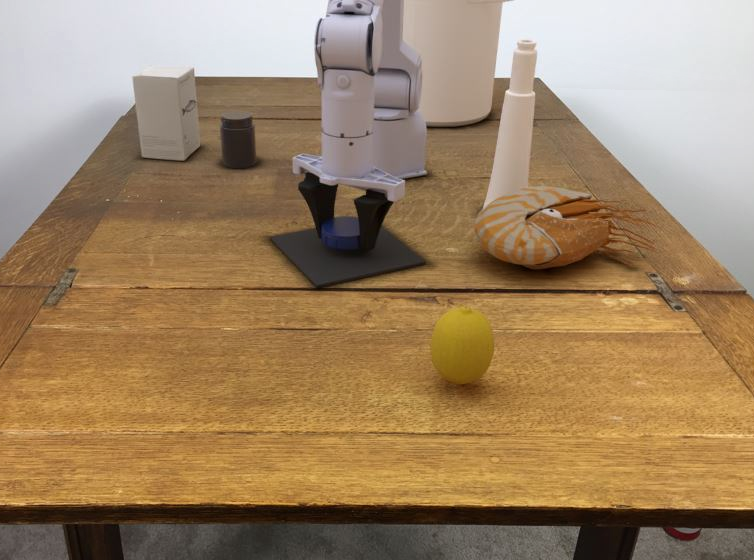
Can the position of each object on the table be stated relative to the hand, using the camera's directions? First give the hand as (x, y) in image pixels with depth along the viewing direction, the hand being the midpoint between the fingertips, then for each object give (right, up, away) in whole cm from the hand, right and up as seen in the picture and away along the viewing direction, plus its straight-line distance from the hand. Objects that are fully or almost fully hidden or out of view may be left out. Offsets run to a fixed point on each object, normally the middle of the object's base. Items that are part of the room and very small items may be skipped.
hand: (345, 242), depth 94 cm
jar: (-16, +16, +27) cm, 35 cm away
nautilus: (+25, -2, -1) cm, 26 cm away
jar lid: (0, +1, -1) cm, 2 cm away
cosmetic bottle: (+21, +5, +10) cm, 24 cm away
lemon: (+10, -16, -23) cm, 29 cm away
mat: (0, -1, +1) cm, 1 cm away
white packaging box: (-27, +18, +31) cm, 45 cm away
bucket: (+17, +30, +51) cm, 62 cm away
